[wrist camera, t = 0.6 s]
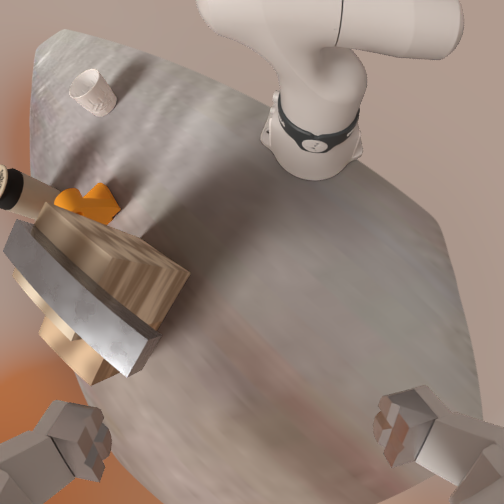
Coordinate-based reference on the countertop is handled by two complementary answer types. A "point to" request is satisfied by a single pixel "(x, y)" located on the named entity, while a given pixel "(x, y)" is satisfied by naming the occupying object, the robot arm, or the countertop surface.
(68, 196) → the bracket
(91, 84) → the white cup
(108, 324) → the block
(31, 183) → the travel mug
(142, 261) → the step stand
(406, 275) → the countertop surface
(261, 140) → the robot arm
